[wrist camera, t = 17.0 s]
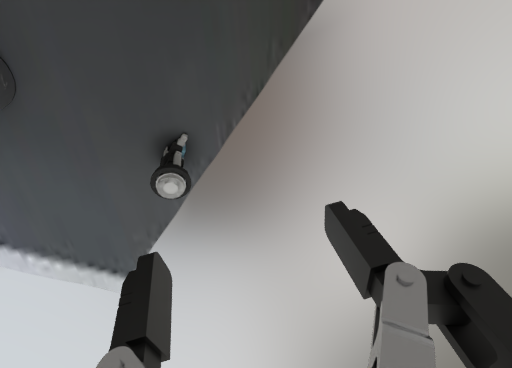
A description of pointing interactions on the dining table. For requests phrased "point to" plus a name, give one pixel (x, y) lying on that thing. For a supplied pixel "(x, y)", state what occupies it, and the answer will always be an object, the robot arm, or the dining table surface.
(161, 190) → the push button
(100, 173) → the dining table surface
